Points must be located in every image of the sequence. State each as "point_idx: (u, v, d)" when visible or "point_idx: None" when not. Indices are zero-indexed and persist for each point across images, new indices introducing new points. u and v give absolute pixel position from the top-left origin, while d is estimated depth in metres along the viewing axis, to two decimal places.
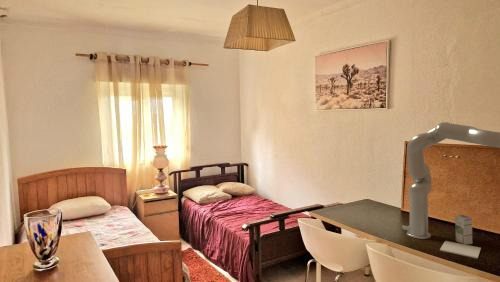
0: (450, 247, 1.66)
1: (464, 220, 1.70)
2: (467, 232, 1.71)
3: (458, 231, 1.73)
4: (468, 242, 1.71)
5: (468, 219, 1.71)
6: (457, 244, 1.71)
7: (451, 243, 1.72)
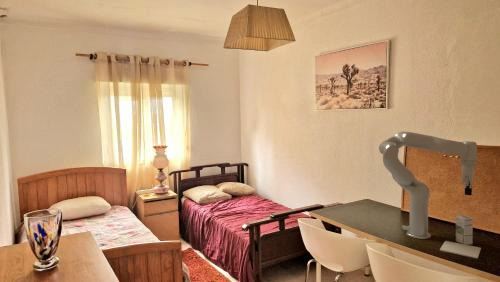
0: (450, 247, 1.66)
1: (465, 220, 1.70)
2: (467, 232, 1.71)
3: (459, 231, 1.73)
4: (468, 242, 1.71)
5: (469, 219, 1.70)
6: (457, 244, 1.71)
7: (451, 243, 1.72)
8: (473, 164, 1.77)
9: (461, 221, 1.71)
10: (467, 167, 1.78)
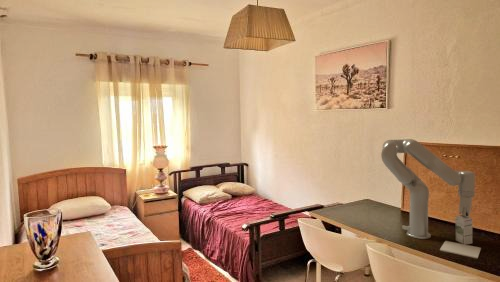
0: (450, 247, 1.66)
1: (464, 221, 1.69)
2: (467, 232, 1.70)
3: (459, 231, 1.73)
4: (468, 242, 1.71)
5: (468, 220, 1.69)
6: (457, 244, 1.71)
7: (451, 243, 1.72)
8: (471, 195, 1.73)
9: (461, 222, 1.71)
10: (465, 198, 1.73)
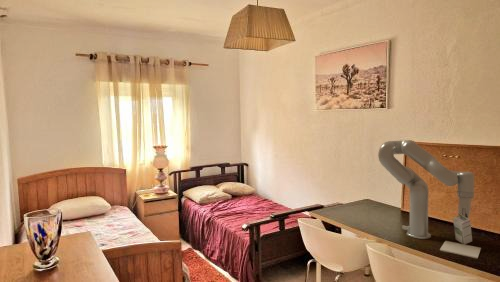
0: (450, 247, 1.66)
1: (462, 224, 1.67)
2: (466, 233, 1.69)
3: (458, 232, 1.71)
4: (468, 241, 1.71)
5: (466, 222, 1.67)
6: (457, 244, 1.71)
7: (451, 243, 1.72)
8: (470, 196, 1.70)
9: (459, 224, 1.68)
10: (464, 199, 1.71)
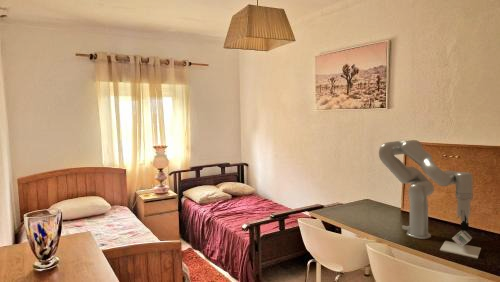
0: (450, 247, 1.66)
1: (462, 246, 1.60)
2: None
3: None
4: None
5: None
6: (457, 244, 1.71)
7: (451, 243, 1.72)
8: (469, 197, 1.64)
9: (458, 244, 1.62)
10: (462, 201, 1.64)
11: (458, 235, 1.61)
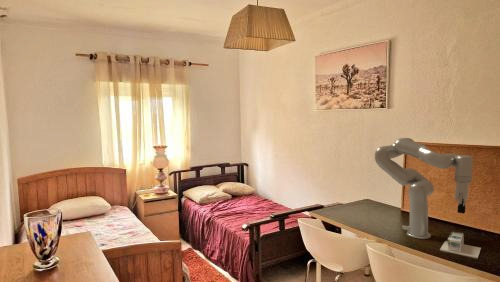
0: None
1: (461, 250, 1.61)
2: (462, 242, 1.66)
3: None
4: (463, 238, 1.70)
5: (460, 245, 1.60)
6: None
7: None
8: (468, 180, 1.64)
9: None
10: (461, 183, 1.64)
11: (449, 243, 1.63)
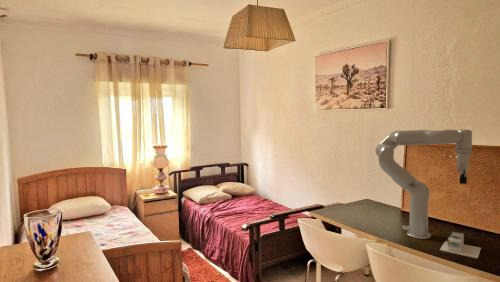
0: None
1: (461, 250, 1.61)
2: (462, 242, 1.66)
3: None
4: (463, 238, 1.70)
5: (461, 245, 1.60)
6: None
7: None
8: (468, 152, 1.76)
9: None
10: (462, 155, 1.76)
11: (449, 243, 1.63)
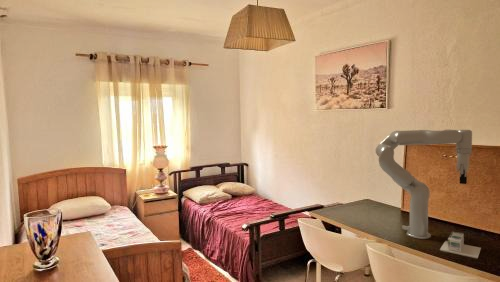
0: None
1: (461, 250, 1.61)
2: (462, 242, 1.66)
3: None
4: (463, 238, 1.70)
5: (461, 245, 1.60)
6: None
7: None
8: (468, 152, 1.76)
9: None
10: (462, 155, 1.76)
11: (449, 243, 1.63)
